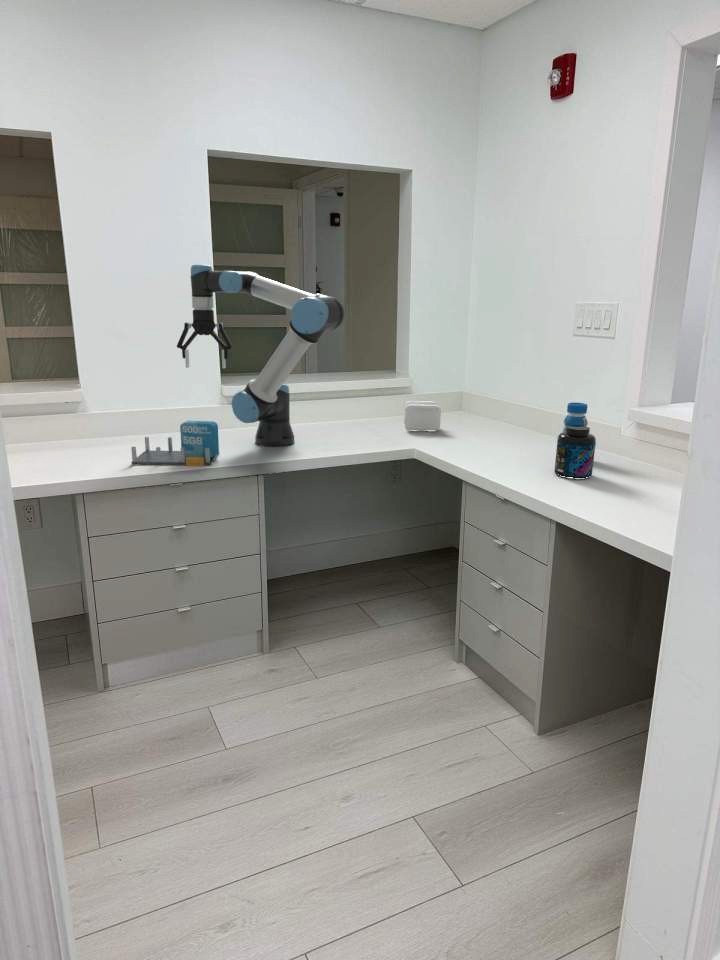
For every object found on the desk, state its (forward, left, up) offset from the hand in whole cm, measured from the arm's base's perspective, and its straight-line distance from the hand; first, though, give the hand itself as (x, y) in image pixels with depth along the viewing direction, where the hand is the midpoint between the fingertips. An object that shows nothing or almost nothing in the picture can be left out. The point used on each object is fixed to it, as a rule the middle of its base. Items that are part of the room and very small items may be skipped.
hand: (205, 367), depth 250 cm
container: (-128, +41, -29) cm, 137 cm away
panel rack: (+6, +26, -29) cm, 39 cm away
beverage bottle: (-135, +18, -29) cm, 139 cm away
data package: (-2, +26, -28) cm, 38 cm away
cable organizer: (-85, -29, -29) cm, 94 cm away
